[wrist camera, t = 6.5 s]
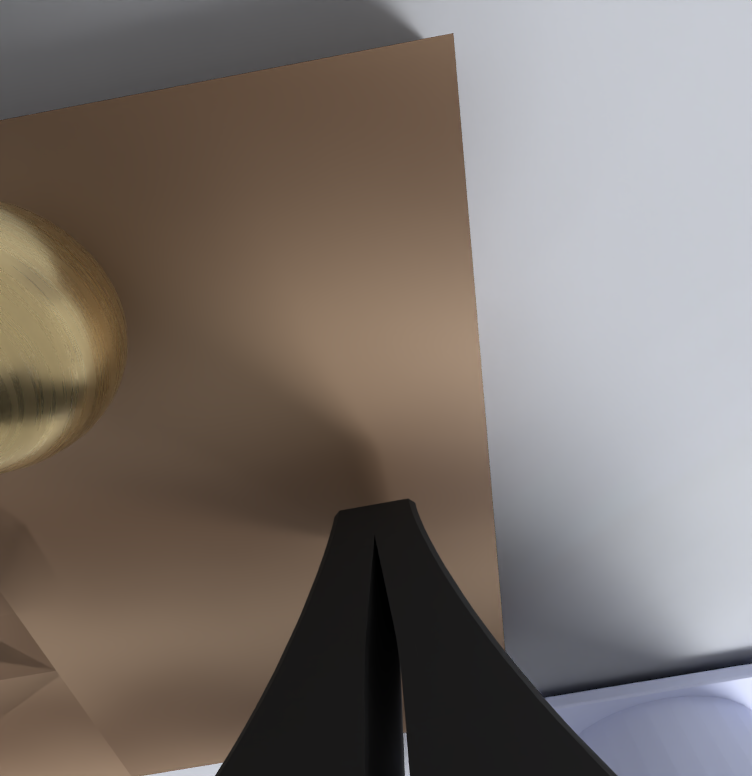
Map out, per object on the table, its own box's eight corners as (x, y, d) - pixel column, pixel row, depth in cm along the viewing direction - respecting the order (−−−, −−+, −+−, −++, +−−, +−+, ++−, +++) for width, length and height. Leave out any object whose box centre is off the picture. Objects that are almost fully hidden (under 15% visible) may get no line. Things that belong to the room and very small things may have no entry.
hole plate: (491, 646, 16) (510, 715, 14) (-109, 746, 16) (-163, 825, 15) (429, 45, 9) (453, 33, 7) (-633, 249, 9) (-861, 286, 7)
